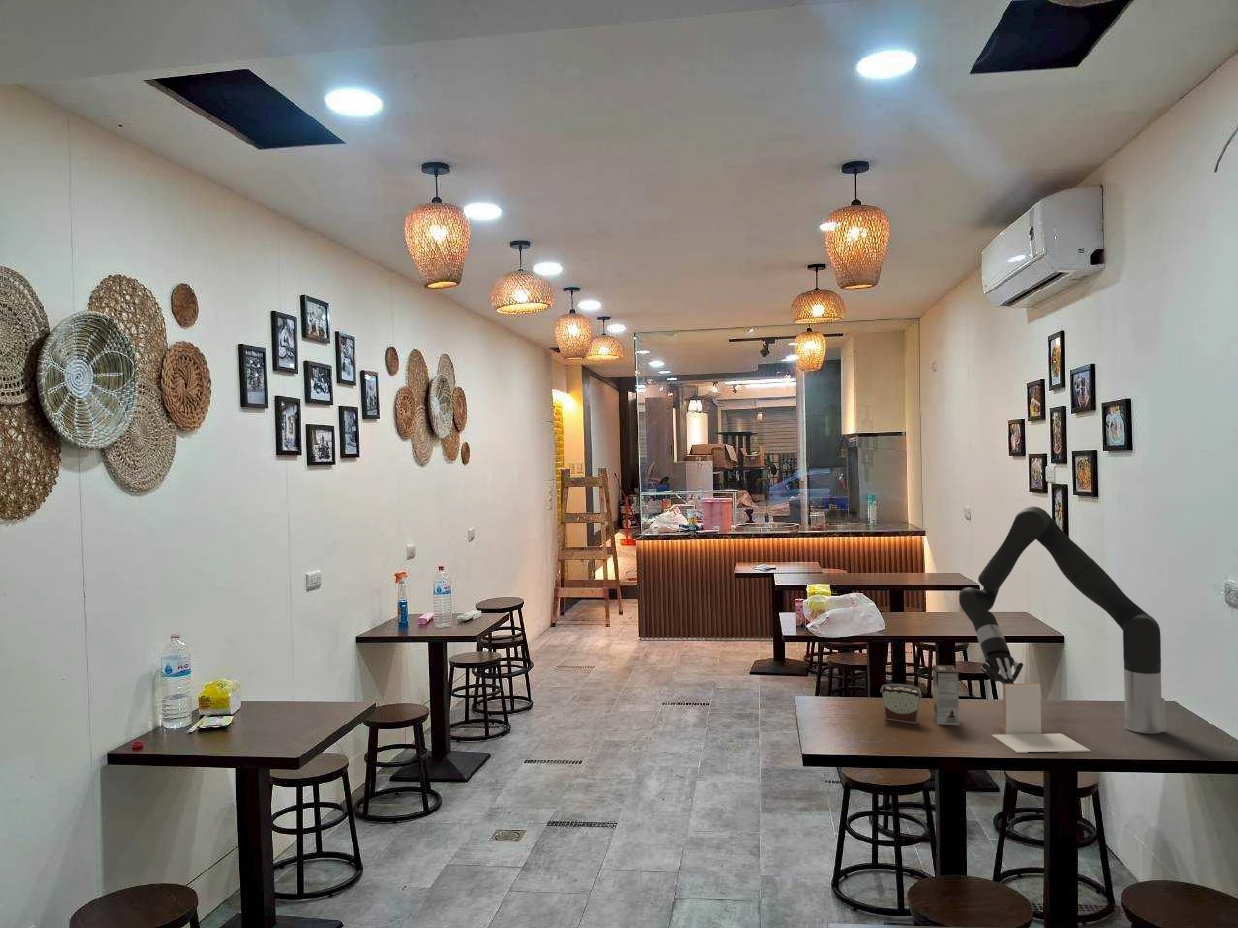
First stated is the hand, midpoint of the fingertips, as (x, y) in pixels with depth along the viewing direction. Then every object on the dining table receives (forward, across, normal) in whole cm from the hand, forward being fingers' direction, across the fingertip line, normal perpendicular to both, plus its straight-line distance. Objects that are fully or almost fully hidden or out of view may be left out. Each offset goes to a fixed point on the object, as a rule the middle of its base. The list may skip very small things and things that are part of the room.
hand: (1011, 692), depth 254 cm
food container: (0, -29, +14) cm, 32 cm away
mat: (+19, 0, -4) cm, 19 cm away
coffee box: (+2, -17, +12) cm, 21 cm away
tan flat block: (+12, 0, +3) cm, 12 cm away
